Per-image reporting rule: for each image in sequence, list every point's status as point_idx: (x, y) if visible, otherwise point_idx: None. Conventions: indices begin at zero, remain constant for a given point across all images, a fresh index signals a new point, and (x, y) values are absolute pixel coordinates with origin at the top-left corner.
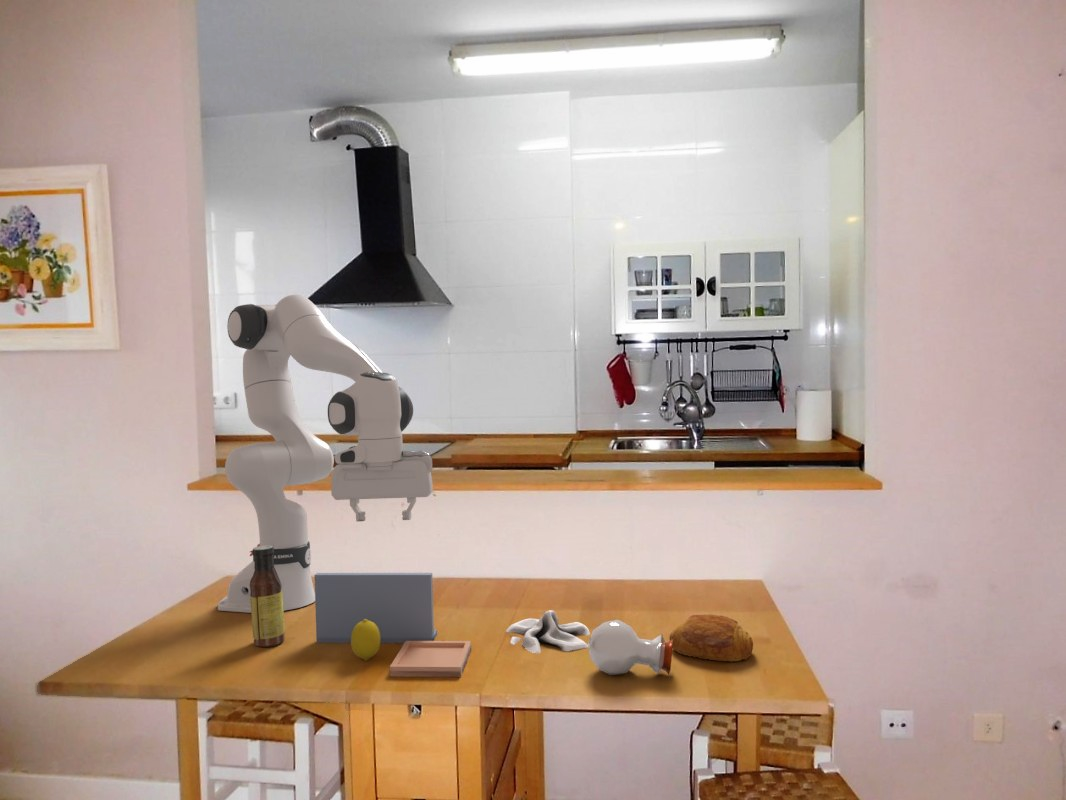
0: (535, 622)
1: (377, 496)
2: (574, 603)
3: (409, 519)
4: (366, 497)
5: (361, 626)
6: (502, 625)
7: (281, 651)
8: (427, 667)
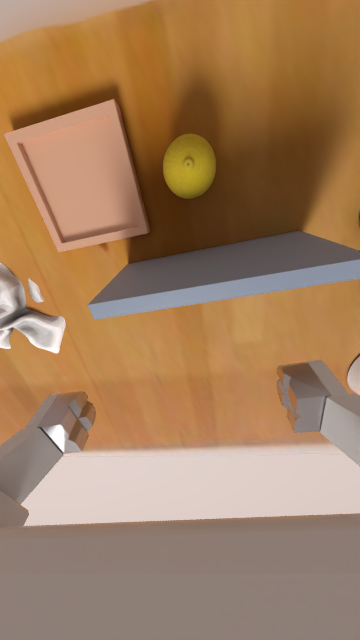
0: (35, 337)
1: (178, 548)
2: None
3: (51, 395)
4: (312, 534)
5: (189, 144)
6: (78, 334)
7: (351, 178)
8: (53, 119)
